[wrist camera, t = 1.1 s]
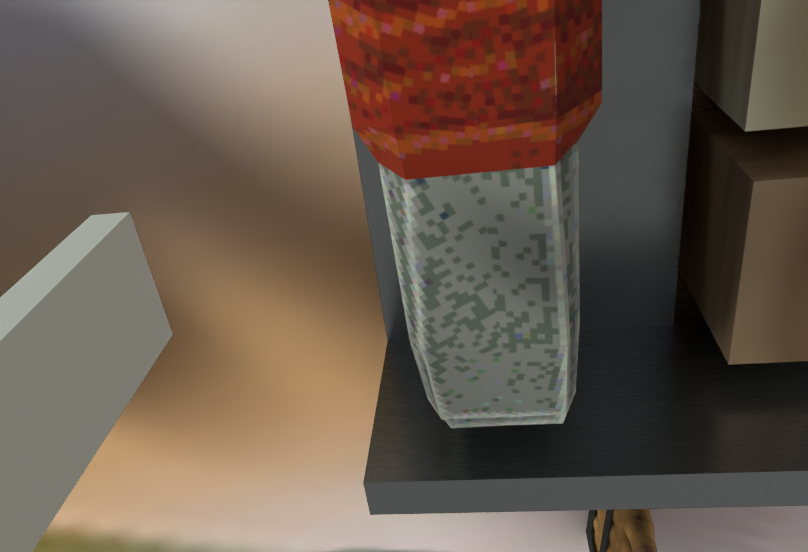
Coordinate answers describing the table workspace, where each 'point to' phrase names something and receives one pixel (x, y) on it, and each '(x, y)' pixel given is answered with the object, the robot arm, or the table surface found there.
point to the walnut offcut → (748, 237)
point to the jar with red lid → (480, 187)
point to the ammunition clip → (620, 531)
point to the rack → (606, 336)
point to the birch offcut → (755, 61)
